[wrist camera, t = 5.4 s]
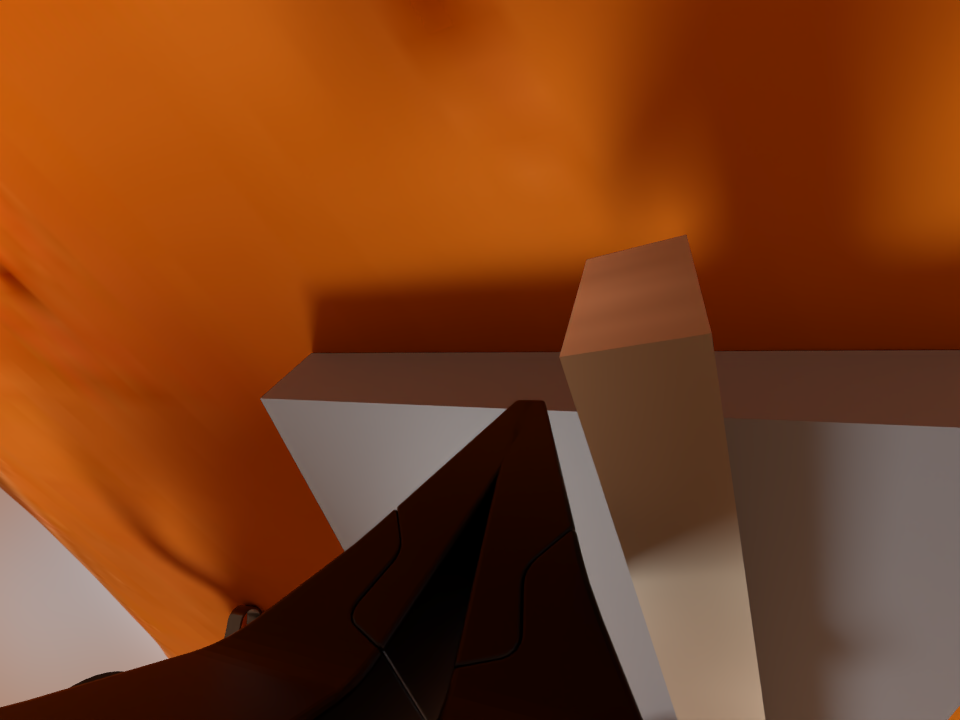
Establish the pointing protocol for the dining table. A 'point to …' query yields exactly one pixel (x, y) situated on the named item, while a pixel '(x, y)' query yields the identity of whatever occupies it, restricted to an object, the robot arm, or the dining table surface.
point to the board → (757, 490)
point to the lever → (666, 469)
